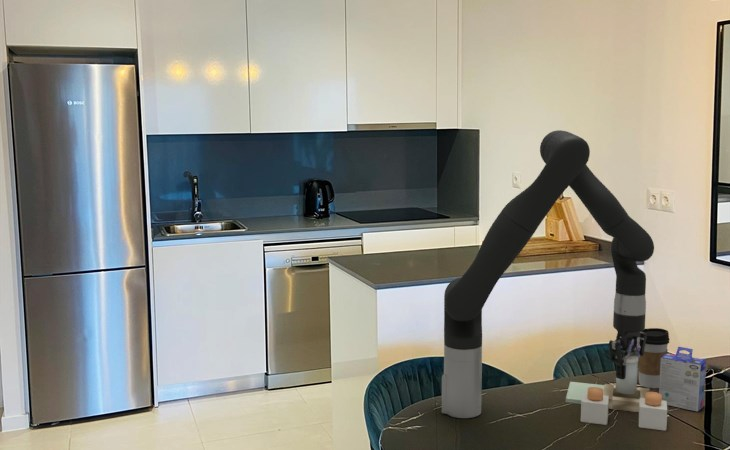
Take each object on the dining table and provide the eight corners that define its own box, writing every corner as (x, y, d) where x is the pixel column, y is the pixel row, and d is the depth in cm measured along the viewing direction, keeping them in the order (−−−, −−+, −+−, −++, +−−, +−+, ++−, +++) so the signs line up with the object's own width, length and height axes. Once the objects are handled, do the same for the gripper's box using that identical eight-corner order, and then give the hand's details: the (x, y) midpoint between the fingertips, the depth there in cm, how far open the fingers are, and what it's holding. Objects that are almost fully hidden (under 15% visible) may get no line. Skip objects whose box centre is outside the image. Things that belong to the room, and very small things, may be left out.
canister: (629, 396, 183) (631, 358, 182) (611, 390, 187) (612, 353, 186) (640, 391, 187) (642, 353, 185) (622, 385, 191) (623, 349, 189)
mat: (565, 402, 188) (565, 398, 188) (570, 385, 200) (570, 381, 200) (602, 406, 185) (602, 402, 185) (604, 388, 197) (605, 385, 197)
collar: (602, 408, 184) (602, 398, 184) (604, 392, 194) (604, 383, 194) (649, 413, 180) (650, 403, 180) (649, 397, 191) (649, 388, 190)
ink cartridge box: (704, 405, 185) (707, 350, 183) (699, 412, 181) (702, 355, 179) (663, 397, 191) (666, 343, 189) (657, 404, 187) (660, 348, 185)
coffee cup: (672, 389, 196) (675, 335, 194) (640, 390, 196) (642, 335, 194) (660, 379, 204) (662, 326, 202) (629, 379, 204) (631, 326, 202)
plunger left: (586, 415, 177) (587, 391, 176) (587, 409, 180) (588, 386, 179) (602, 417, 175) (603, 393, 174) (602, 411, 179) (603, 388, 178)
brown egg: (644, 420, 173) (645, 396, 172) (644, 415, 176) (645, 391, 176) (660, 422, 172) (662, 398, 171) (660, 416, 175) (661, 392, 174)
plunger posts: (580, 421, 176) (581, 401, 175) (582, 410, 183) (583, 391, 182) (666, 432, 169) (667, 411, 169) (665, 420, 176) (666, 400, 175)
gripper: (627, 318, 177) (624, 386, 179) (658, 308, 186) (655, 373, 188) (600, 312, 183) (597, 378, 185) (631, 303, 192) (628, 366, 194)
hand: (626, 375), depth 187 cm, fingers closed on canister, 5 cm apart
